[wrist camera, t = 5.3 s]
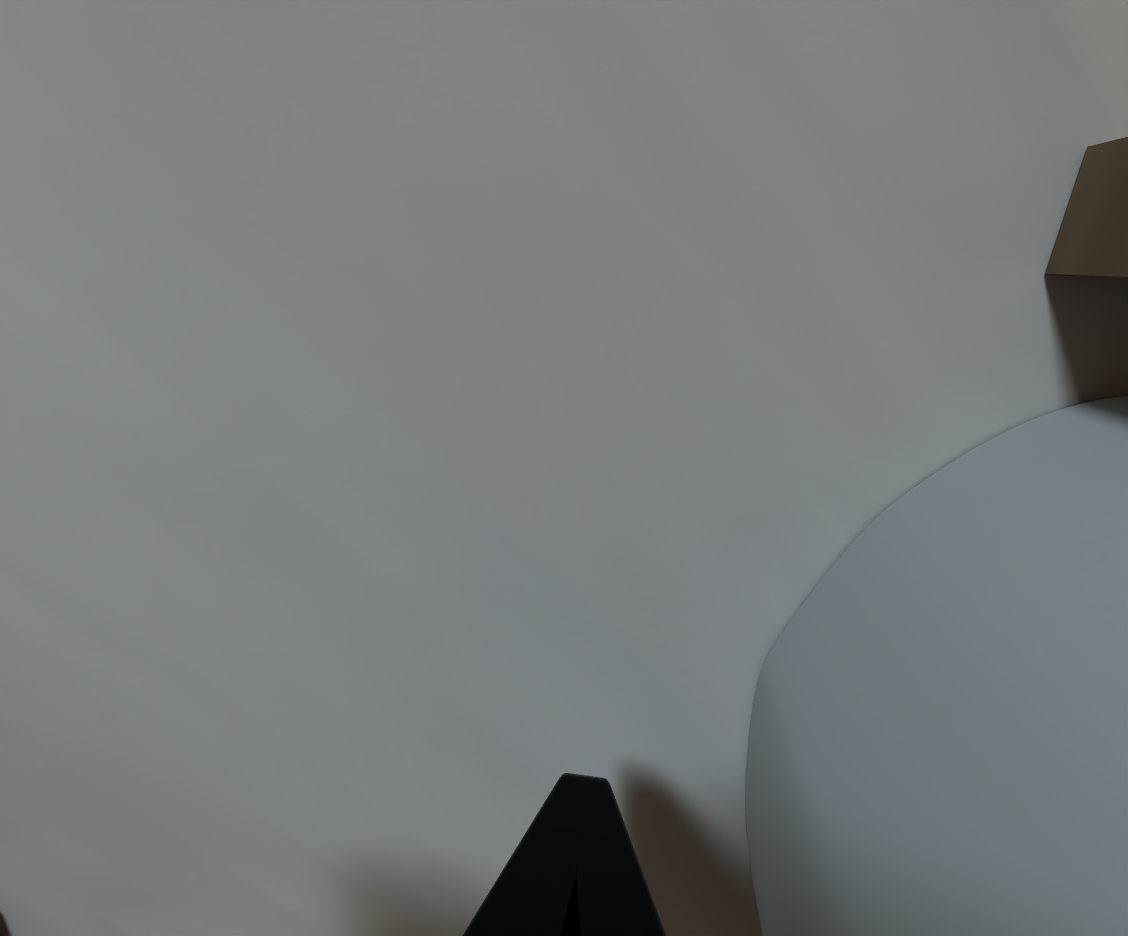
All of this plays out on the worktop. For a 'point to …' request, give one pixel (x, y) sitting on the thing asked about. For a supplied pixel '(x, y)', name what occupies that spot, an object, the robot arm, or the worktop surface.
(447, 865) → the worktop surface
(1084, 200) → the bay
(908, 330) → the worktop surface
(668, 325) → the worktop surface
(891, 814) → the lumpy-topped squat cylinder
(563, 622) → the worktop surface
